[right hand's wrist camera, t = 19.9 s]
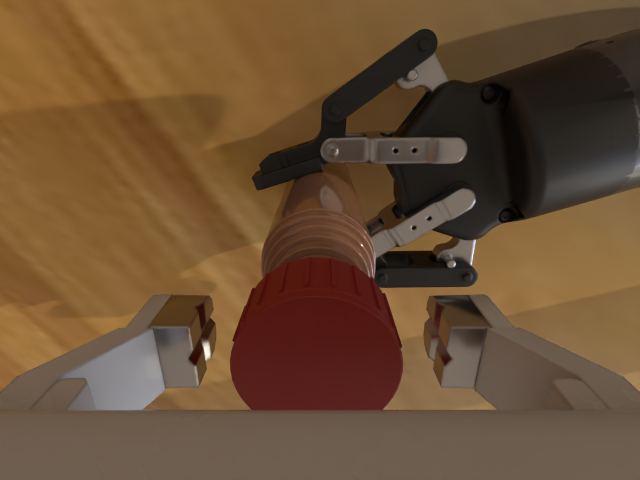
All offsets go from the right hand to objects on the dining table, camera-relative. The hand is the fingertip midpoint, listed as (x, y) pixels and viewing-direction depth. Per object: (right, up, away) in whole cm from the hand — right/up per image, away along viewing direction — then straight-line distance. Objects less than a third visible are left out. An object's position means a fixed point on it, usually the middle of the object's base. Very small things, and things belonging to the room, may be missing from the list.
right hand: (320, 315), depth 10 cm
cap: (0, -1, -2) cm, 2 cm away
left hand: (-3, +3, +10) cm, 11 cm away
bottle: (0, +6, +16) cm, 17 cm away
